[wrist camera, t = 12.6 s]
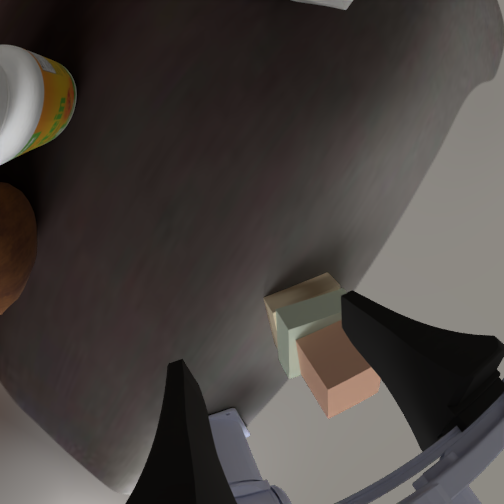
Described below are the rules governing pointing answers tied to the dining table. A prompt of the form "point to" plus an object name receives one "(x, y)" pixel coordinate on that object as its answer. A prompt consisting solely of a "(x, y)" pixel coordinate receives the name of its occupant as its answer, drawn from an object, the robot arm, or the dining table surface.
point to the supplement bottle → (32, 101)
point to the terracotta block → (335, 370)
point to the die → (329, 3)
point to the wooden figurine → (15, 243)
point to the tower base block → (298, 296)
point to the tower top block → (304, 325)
